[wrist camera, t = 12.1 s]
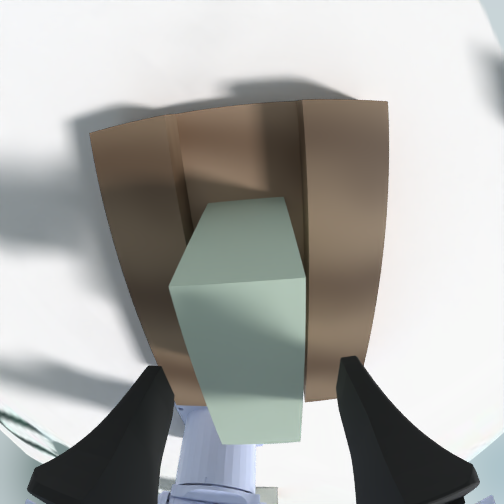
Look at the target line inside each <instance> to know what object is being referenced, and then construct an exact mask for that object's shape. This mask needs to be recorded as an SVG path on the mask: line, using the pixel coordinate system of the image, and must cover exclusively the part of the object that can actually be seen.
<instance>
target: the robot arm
mask: <svg viewBox="0 0 504 504" xmlns="http://www.w3.org/2000/svg"><path fill="white" fill-rule="evenodd" d="M336 393H337V400H338V407H339V412H340V416H341V420H342V423H343V427H344V431H345V435H346V438H347V442H348V446H349V450H350V454H351V459H352V465H353V473H354V481H355V492H356V504H465V500H464V497H463V496H465V495H466V494H468V493H469V492H471V491H472V490H473V489H475V488H476V487H477V486H478V485H479V483H480V481H479V478H478V475H477V472H476V470H475V468H474V467H473V465H472V464H471V463H469V462H467V461H465V460H463V459H461V458H459V457H457V456H455V455H454V454H452V453H450V452H449V451H447V450H446V449H444V448H443V447H441V446H440V445H438V444H437V443H436V442H434V441H433V440H432V439H430V438H429V437H427V436H426V435H425V434H424V433H422V432H421V431H420V430H419V429H418V428H417V427H415V426H414V425H413V424H412V423H411V422H410V421H409V420H408V419H407V418H406V417H405V416H404V415H403V414H402V413H401V412H400V411H399V410H398V409H397V408H396V407H395V406H394V405H393V403H392V402H391V401H390V400H389V399H388V398H387V396H386V395H385V394H384V393H383V392H382V390H381V389H380V388H379V387H378V385H377V384H376V383H375V381H374V380H373V379H372V377H371V376H370V375H369V373H368V372H367V370H366V369H365V368H364V366H363V365H362V363H361V362H360V360H359V359H358V357H357V356H348V357H341V359H340V366H339V372H338V378H337V384H336ZM174 397H175V395H174V393H173V391H172V388H171V386H170V384H169V382H168V380H167V377H166V375H165V373H164V371H163V368H162V366H148V367H147V368H146V369H145V370H144V371H143V373H142V374H141V375H140V377H139V378H138V379H137V381H136V382H135V383H134V384H133V386H132V387H131V388H130V390H129V391H128V392H127V393H126V395H125V396H124V397H123V398H122V400H121V401H120V402H119V403H118V404H117V406H116V407H115V408H114V409H113V410H112V411H111V412H110V413H109V414H108V416H107V417H106V418H105V419H104V420H103V421H102V422H101V423H100V424H99V425H98V426H97V427H96V428H95V429H94V430H93V431H91V432H90V433H89V434H88V435H87V436H86V437H84V438H83V439H82V440H81V441H79V442H78V443H77V444H76V445H74V446H73V447H72V448H70V449H69V450H67V451H66V452H64V453H63V454H61V455H59V456H58V457H56V458H54V459H52V460H50V461H49V462H47V463H45V464H42V465H40V466H38V467H36V468H35V469H34V472H33V474H32V477H31V480H30V482H29V485H28V488H27V490H28V492H29V493H31V494H32V495H33V496H35V497H37V498H38V499H40V500H41V501H43V502H45V503H46V504H266V503H264V502H260V494H255V477H256V446H262V445H263V444H243V445H228V444H222V443H221V440H220V438H219V435H218V433H217V430H216V428H215V425H214V423H213V420H212V418H211V415H210V413H209V410H208V407H207V406H185V405H176V403H175V407H176V409H177V411H178V413H179V415H180V417H181V419H182V420H183V422H184V424H185V430H184V435H183V441H182V446H181V452H180V458H179V463H178V469H177V475H176V481H175V484H172V489H171V492H170V491H163V492H162V493H160V494H158V486H159V475H160V466H161V461H162V456H163V452H164V448H165V444H166V440H167V436H168V432H169V428H170V424H171V420H172V414H173V407H174ZM25 504H36V503H34V502H32V501H30V500H29V499H27V500H26V502H25ZM476 504H495V501H494V498H493V496H492V495H490V496H488V497H487V498H485V499H483V500H481V501H479V502H478V503H476Z"/></svg>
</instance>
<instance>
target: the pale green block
mask: <svg viewBox="0 0 504 504" xmlns="http://www.w3.org/2000/svg"><path fill="white" fill-rule="evenodd" d="M169 290H170V294H171V297H172V301H173V305H174V308H175V311H176V315H177V318H178V322H179V325H180V328H181V331H182V335H183V338H184V341H185V344H186V347H187V350H188V353H189V356H190V359H191V362H192V365H193V368H194V371H195V374H196V377H197V380H198V383H199V386H200V388H201V391H202V394H203V397H204V399H205V402H206V405H207V407H208V410H209V413H210V415H211V418H212V420H213V423H214V425H215V428H216V430H217V433H218V435H219V438H220V440H221V443H222V444H228V445H243V444H274V443H289V442H300V438H301V424H302V407H303V388H304V363H305V325H306V276H305V272H304V269H303V265H302V261H301V257H300V253H299V250H298V246H297V242H296V239H295V235H294V231H293V228H292V224H291V220H290V217H289V213H288V210H287V206H286V203H285V199H284V197H272V198H259V199H247V200H236V201H225V202H215V203H208V204H207V206H206V208H205V210H204V212H203V214H202V216H201V218H200V220H199V222H198V224H197V227H196V229H195V231H194V233H193V235H192V237H191V239H190V241H189V243H188V245H187V247H186V249H185V252H184V254H183V256H182V258H181V260H180V262H179V264H178V267H177V269H176V271H175V273H174V275H173V278H172V280H171V282H170V284H169Z"/></svg>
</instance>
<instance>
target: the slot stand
mask: <svg viewBox="0 0 504 504" xmlns="http://www.w3.org/2000/svg"><path fill="white" fill-rule="evenodd" d="M89 134H90V140H91V146H92V151H93V157H94V162H95V167H96V172H97V177H98V182H99V186H100V191H101V195H102V199H103V204H104V208H105V212H106V216H107V220H108V223H109V227H110V231H111V235H112V238H113V242H114V245H115V249H116V252H117V255H118V259H119V262H120V265H121V268H122V271H123V274H124V278H125V281H126V284H127V287H128V289H129V292H130V295H131V298H132V301H133V304H134V307H135V309H136V312H137V315H138V317H139V320H140V323H141V325H142V328H143V330H144V333H145V335H146V338H147V340H148V343H149V345H150V348H151V350H152V353H153V355H154V357H155V360H156V362H157V364H158V366H162V368H163V371H164V373H165V375H166V377H167V380H168V382H169V384H170V386H171V388H172V391H173V393H174V395H175V397H174V401H175V403H176V405H185V406H207V405H206V402H205V399H204V397H203V394H202V391H201V388H200V386H199V383H198V380H197V377H196V374H195V371H194V368H193V365H192V362H191V359H190V356H189V353H188V350H187V347H186V344H185V341H184V338H183V335H182V331H181V328H180V325H179V322H178V318H177V315H176V311H175V308H174V305H173V301H172V297H171V294H170V290H169V284H170V282H171V280H172V278H173V275H174V273H175V271H176V269H177V267H178V264H179V262H180V260H181V258H182V256H183V254H184V252H185V249H186V247H187V245H188V243H189V241H190V239H191V237H192V235H193V233H194V231H195V229H196V227H197V224H198V222H199V220H200V218H201V216H202V214H203V212H204V210H205V208H206V206H207V204H208V203H215V202H225V201H236V200H247V199H259V198H272V197H284V199H285V203H286V206H287V210H288V213H289V217H290V220H291V224H292V228H293V231H294V235H295V239H296V242H297V246H298V250H299V253H300V257H301V261H302V265H303V269H304V272H305V276H306V325H305V363H304V388H303V390H304V397H305V402H312V401H321V400H329V399H336V398H337V393H336V384H337V378H338V372H339V366H340V359H341V357H348V356H357V357H358V359H359V360H360V362H361V363H362V365H363V366H364V362H365V357H366V353H367V348H368V343H369V339H370V334H371V329H372V323H373V318H374V312H375V306H376V300H377V294H378V287H379V281H380V273H381V266H382V257H383V248H384V239H385V228H386V215H387V199H388V176H389V119H388V102H387V101H372V100H347V99H307V100H298V101H285V102H268V103H255V104H244V105H235V106H226V107H218V108H210V109H203V110H197V111H190V112H184V113H178V114H169V115H161V116H156V117H152V118H147V119H142V120H138V121H134V122H129V123H125V124H121V125H117V126H113V127H110V128H106V129H102V130H99V131H95V132H92V133H89Z"/></svg>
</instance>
